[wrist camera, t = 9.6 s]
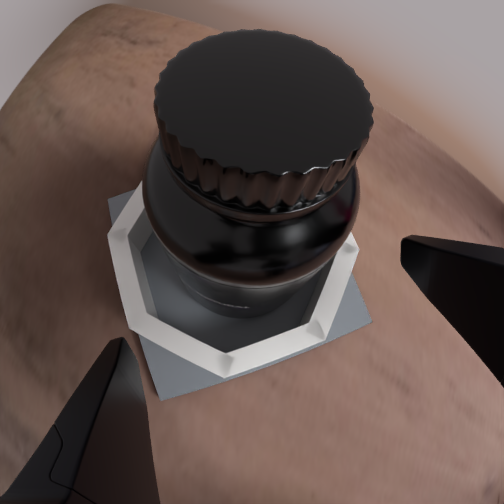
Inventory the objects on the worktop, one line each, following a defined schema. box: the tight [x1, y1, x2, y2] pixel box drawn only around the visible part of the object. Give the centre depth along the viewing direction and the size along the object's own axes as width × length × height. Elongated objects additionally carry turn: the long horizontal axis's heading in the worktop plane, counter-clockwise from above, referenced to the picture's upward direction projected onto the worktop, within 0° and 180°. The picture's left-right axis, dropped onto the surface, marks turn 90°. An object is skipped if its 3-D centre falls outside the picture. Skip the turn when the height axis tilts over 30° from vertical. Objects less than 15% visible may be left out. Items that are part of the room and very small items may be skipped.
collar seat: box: [107, 181, 372, 401], centre depth 16 cm, size 12×12×3 cm
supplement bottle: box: [142, 29, 374, 319], centre depth 12 cm, size 7×7×12 cm
